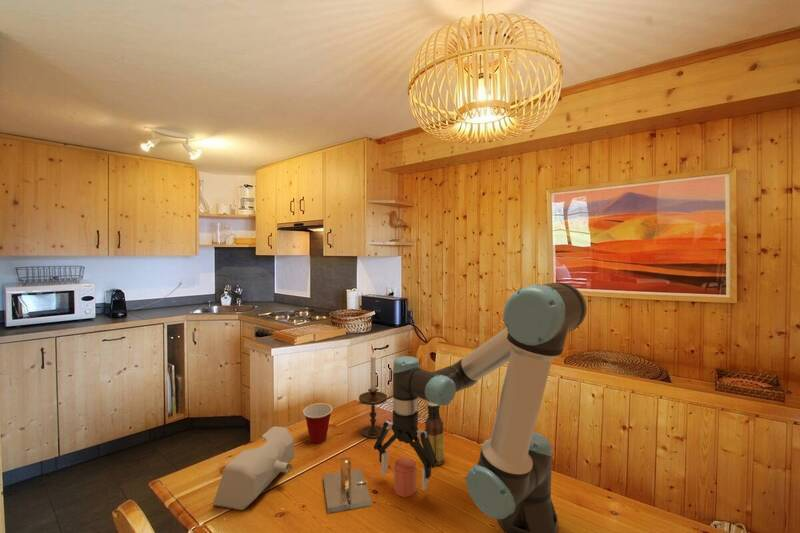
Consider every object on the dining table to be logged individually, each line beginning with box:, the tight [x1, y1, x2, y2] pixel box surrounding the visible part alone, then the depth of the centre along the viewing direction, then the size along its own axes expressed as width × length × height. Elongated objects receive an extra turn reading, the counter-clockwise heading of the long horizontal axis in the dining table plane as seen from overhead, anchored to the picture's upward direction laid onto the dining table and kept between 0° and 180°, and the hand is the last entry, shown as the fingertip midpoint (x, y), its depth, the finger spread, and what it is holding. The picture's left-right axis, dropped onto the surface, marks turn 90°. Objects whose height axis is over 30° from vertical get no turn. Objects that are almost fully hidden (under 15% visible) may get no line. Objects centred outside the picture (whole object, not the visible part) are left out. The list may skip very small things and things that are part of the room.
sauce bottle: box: [424, 401, 445, 466], centre depth 127 cm, size 6×6×20 cm
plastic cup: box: [302, 402, 333, 445], centre depth 141 cm, size 11×11×12 cm
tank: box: [212, 425, 295, 511], centre depth 114 cm, size 25×16×12 cm, turn 167°
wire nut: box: [393, 457, 417, 498], centre depth 112 cm, size 6×6×8 cm
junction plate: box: [322, 456, 372, 514], centre depth 111 cm, size 16×12×10 cm
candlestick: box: [358, 343, 388, 440], centre depth 146 cm, size 11×11×35 cm
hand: (404, 480), depth 112 cm, fingers open, 13 cm apart
